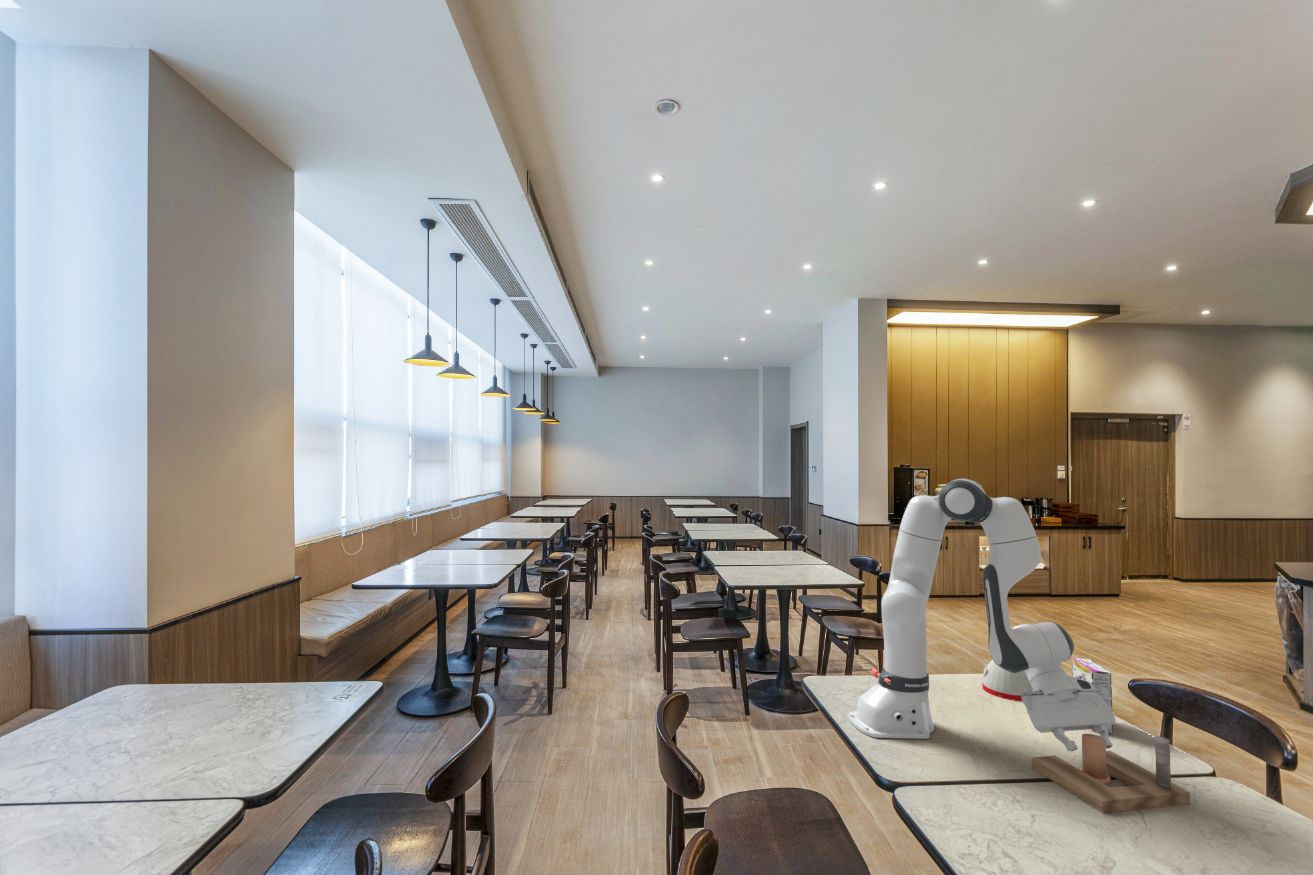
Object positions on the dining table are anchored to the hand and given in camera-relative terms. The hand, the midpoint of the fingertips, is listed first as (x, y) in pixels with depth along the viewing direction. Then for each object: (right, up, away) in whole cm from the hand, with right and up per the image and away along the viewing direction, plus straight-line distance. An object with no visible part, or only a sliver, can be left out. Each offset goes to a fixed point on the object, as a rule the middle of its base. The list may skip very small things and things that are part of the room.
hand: (1091, 748), depth 134 cm
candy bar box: (+21, -8, +27) cm, 35 cm away
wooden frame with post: (+1, -6, -4) cm, 7 cm away
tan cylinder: (0, -6, -1) cm, 6 cm away
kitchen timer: (+11, -9, +50) cm, 52 cm away
